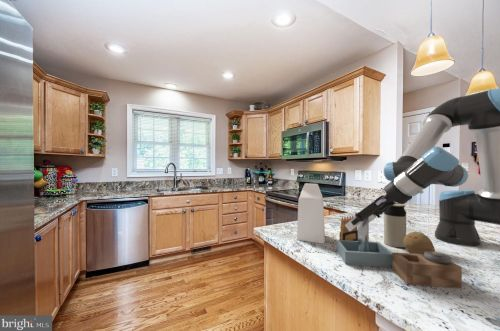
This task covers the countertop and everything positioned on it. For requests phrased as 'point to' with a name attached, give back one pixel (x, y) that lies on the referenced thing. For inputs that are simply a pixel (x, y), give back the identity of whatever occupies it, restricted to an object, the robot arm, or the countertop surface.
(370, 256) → the tray
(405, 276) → the block
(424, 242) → the natural sponge
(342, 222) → the ammunition clip
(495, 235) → the countertop surface
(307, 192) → the milk
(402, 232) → the travel mug
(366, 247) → the pin
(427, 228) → the countertop surface
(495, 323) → the countertop surface
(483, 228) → the countertop surface
